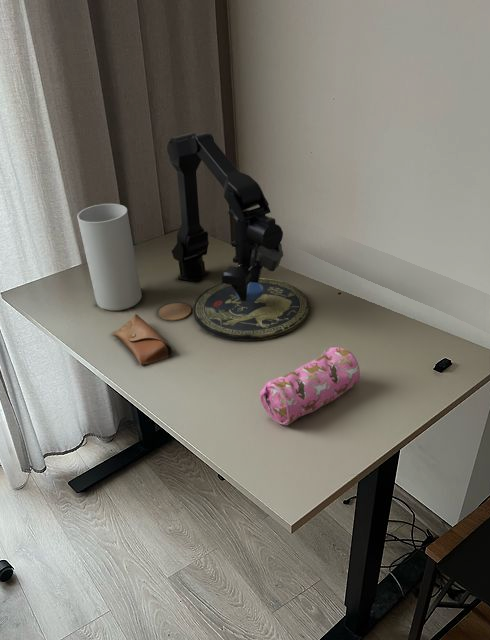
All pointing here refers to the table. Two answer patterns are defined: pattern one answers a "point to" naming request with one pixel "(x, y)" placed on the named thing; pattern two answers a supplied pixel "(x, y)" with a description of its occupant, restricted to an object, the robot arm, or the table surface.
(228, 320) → the decorative plate
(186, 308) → the coaster
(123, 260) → the cylinder vase
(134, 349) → the sunglasses case
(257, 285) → the flat blue disc
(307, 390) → the pencil case
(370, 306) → the table surface
